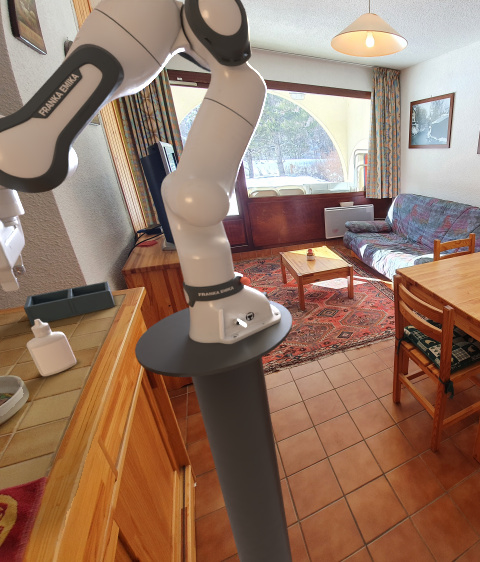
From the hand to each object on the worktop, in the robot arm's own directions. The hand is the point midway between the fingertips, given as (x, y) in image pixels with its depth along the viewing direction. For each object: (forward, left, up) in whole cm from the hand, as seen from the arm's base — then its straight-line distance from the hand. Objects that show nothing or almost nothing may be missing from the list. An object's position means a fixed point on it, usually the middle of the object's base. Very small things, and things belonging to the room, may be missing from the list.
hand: (16, 281), depth 57 cm
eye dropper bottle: (0, -1, -21) cm, 21 cm away
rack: (-3, -34, -21) cm, 40 cm away
